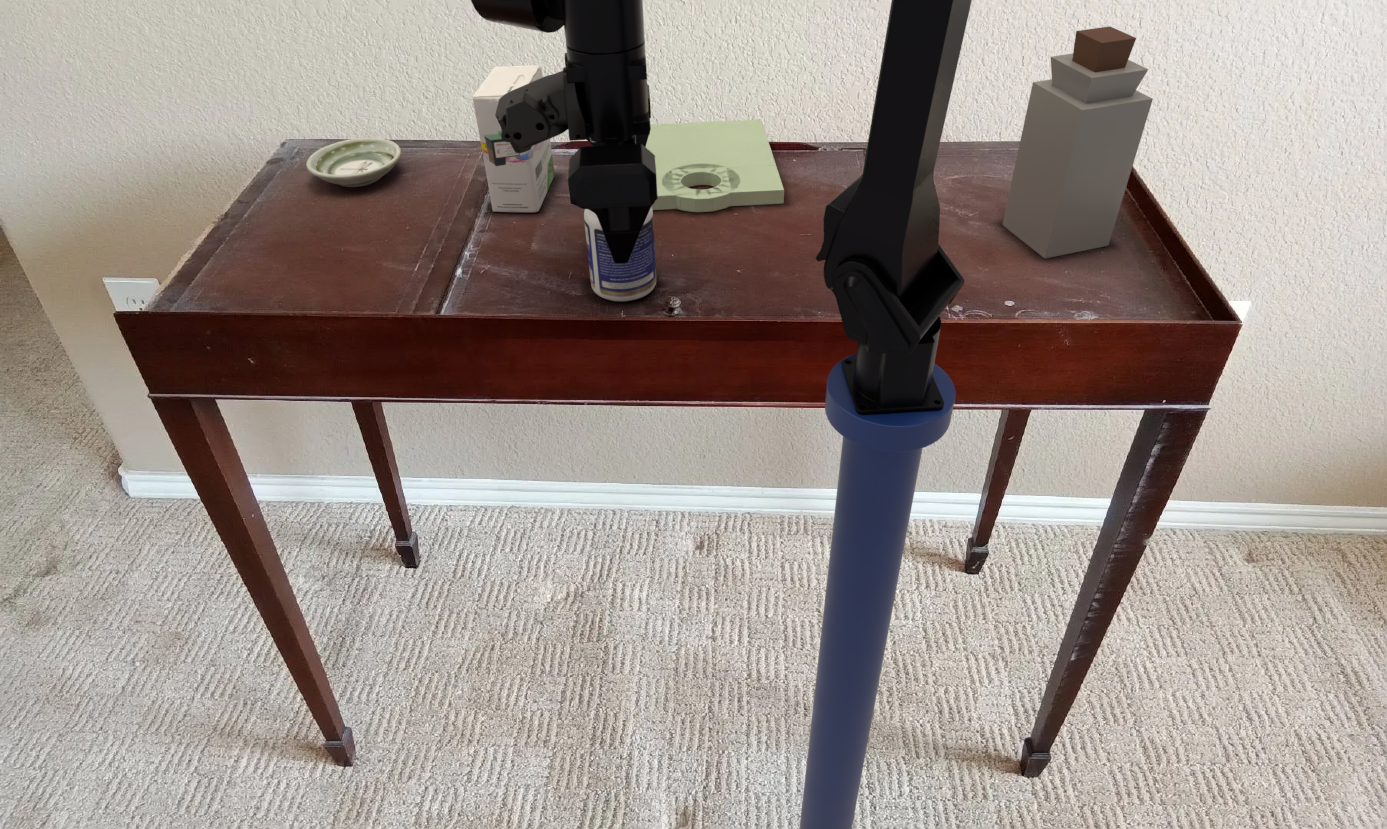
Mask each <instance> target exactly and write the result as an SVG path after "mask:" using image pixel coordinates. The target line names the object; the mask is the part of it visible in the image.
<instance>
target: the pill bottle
mask: <svg viewBox="0 0 1387 829" xmlns="http://www.w3.org/2000/svg"><path fill="white" fill-rule="evenodd" d="M583 221H584V231H585V239H586V240H585V241H586V250H587V262H588V269H589V270H588V271H589V280H590V285H591V289H592V290H593V292H594V293H595V294H596V295H597V296H599V297H601V298H602V299H605V300H607V301H612V302H630V301H635V300H639V299H641V298H644V297H646V296H647V295H649V294H651V292H652V291H653V290H654V289H655V287H656V285H657V262H656V261H657V259H656V243H655V241H656V240H655V225H654V210H652V207H651V208H650V211H649V213H648V215H647V217H646V220H645V222H644V224H643V227H642V229H641V231H640V234H639V236H638V239H637V241H636V244H635V246H634V249H633V251H632V254H631V256H630V259H629V261H628V262H627V263H619V264H617V263H615V262H614V260H613V258H612V255H611V252H610V250H609V247H608V244H607V241H606V239H605V236H604V233H603V230H602V228H601V225H600V223H599V220H598V218H597V215H596V214H595V213H594V212H592V211H590V210H589V209H584V213H583Z"/></svg>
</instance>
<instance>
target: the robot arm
mask: <svg viewBox="0 0 1387 829" xmlns="http://www.w3.org/2000/svg"><path fill="white" fill-rule="evenodd" d="M643 1H644V0H470V2H471V4H472V6H473V8H474V10H475V11H476V13H478V15H479V16H480V17H481V18H483V19H484V20H486V21H489V22H490V23H491V22H492V23H495V24H501V25H507V26H511V27H517V28H522V29H527V30H531V31H537V32H542V33H546V34H548V33H549V34H550V33H551V34H552V33H556V32H558V31H559V30H560V29H562V28H563V27H564V28H563V29H564V38H565V48H566V52H565V53H564V65H565V66H564V67H563V68H562V70H560V71H558V72H556V73H552V74H548V75H545V76H543V78H540V79H538V80H536V81H533V82H531V83H529V84H526V85H524V86H522V87H519V88H517V89H515V90H512V91H510V92H508V93H506V94H505V95H503V96H502V97H501V98H500V99H499V102H498V106H497V110H496V114H495V116H496V118H497V120H498V122H499V124H500V126H501V131H502V132H501V138H502V140H503V141H505V142H510V144H511V146H512V147H513V149H514V151H515V153H523V152H526V151H528V150H530V149H531V147H532V146H533V145H536V144H538V143H541V142H543V141H545V140H548V139H550V140H551V139H552V138H553V139H554V138H555V137H557V136H560V135H562V134H563V133H565V132H566V131H567V133H568V139H569V141H571V142H573V141H587V142H588V143H589V144H590V145H591V146H589V145H587V146H580V147H579V148H578V149H577V150H576V152H575V153H573V155H572V156H571V157H570V158H569V161H568V174H567V184H568V193H569V202H570V204H571V205H573V206H576V207H578V208H579V209H582V210H585V209H589V210H590V211H592V212H594V213H595V214H596V215H597V218H598V220H599V223H600V225H601V228H602V230H603V233H604V236H605V239H606V241H607V244H608V247H609V250H610V252H611V255H612V258H613V260H614V262H615V263H617V264H619V263H627V262H628V261H629V259H630V256H631V254H632V251H633V249H634V246H635V244H636V241H637V239H638V236H639V234H640V231H641V229H642V227H643V224H644V222H645V220H646V217H647V215H648V213H649V211H650V208H651V206H652V205H653V204H654V203H655V200H657V199H658V198H657V178H656V165H655V155H654V154H653V153H651V152H650V151H649V150H648V149H647V148H646V144H647V140H648V137H649V134H650V130H651V126H650V125H651V119H652V109H651V95H650V94H651V93H650V84H648V70H647V68H648V67H647V57H646V40H645V22H644V20H645V18H644V3H643ZM972 1H973V0H891V3H890V9H889V13H888V14H889V15H888V21H887V26H886V27H887V28H886V33H885V37H884V38H885V39H884V43H883V51H882V56H881V61H880V62H881V63H880V68H879V75H878V79H877V86H876V92H875V98H874V104H873V110H872V115H871V122H870V127H869V133H868V139H867V146H866V151H865V157H864V163H863V169H862V174H861V175H859V177H857V178H856V179H855V180H854V181H853V182H852V183H851V184H849V185H848V186H847V187H846V188H845V189H844V190H842V191H841V192H840V193H839V194H837V196H836V197H835V198H834V199H832V200H831V201H830V202H828V204H827V205H826V206H825V209H824V214H823V241H822V245H821V248H820V250H819V252H818V253H817V255H816V256H815V260H816V261H817V262H823V261H824V264H823V280H824V283H825V286H826V288H827V289H828V290H831V292H832V293H833V295H834V296H835V297H834V298H835V301H836V304H837V307H838V312H839V316H840V319H841V322H842V326H843V330H844V334H845V337H846V339H848V340H851V341H854V342H857V345H856V352H855V354H856V358H847V359H844V358H843V359H841V360H842V364H841V367H842V370H843V374H844V377H845V380H846V383H847V386H848V389H849V392H850V395H851V398H852V401H853V404H854V407H855V411H856V412H857V413H858V414H859V415H877V414H894V413H911V412H928V411H940V410H942V409H943V407H944V401H943V399H942V396H941V394H940V392H939V390H938V387H937V385H936V383H935V381H934V378H933V376H932V373H933V368H934V364H935V362H936V356H937V351H938V346H939V340H940V334H941V328H942V319H941V314H942V313H943V312H944V311H945V309H946V308H947V307H948V306H949V305H950V304H952V302H953V301H954V299H955V298H956V297H957V295H958V294H959V292H960V291H961V289H962V288H963V286H964V285H965V279H964V277H963V276H962V274H961V273H960V271H959V269H957V267H956V266H955V264H954V263H953V262H952V261H951V259H950V258H949V256H948V254H946V252H945V251H944V249H943V248H942V246H941V245H940V244H939V240H940V239H939V238H940V221H941V220H940V218H941V215H940V214H941V206H940V200H939V197H938V194H937V189H936V185H935V179H934V178H935V177H934V176H935V175H934V172H935V166H936V162H937V157H938V153H939V149H940V144H941V140H942V135H943V130H944V127H945V122H946V117H947V113H948V108H949V104H950V100H951V94H952V91H953V86H954V81H955V77H956V73H957V68H958V63H959V59H960V55H961V51H962V46H963V41H964V37H965V33H966V27H967V24H968V20H969V14H970V10H971V6H972Z"/></svg>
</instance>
